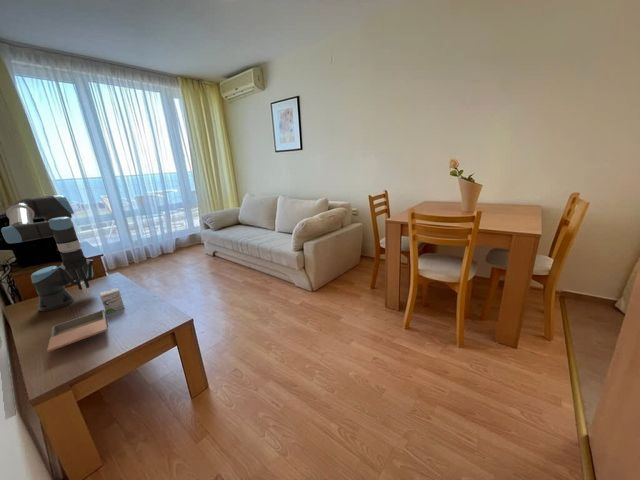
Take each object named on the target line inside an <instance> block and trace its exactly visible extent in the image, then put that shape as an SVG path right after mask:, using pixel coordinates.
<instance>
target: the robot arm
mask: <svg viewBox="0 0 640 480" xmlns="http://www.w3.org/2000/svg"><path fill="white" fill-rule="evenodd" d="M74 214H75V211H74V210H73V208H72V206H71V204H70V202H69V200H68V198H67V197H66V196H65V195H61V194H59V195H58V194H57V195H55V194H53V195H46V196H45V195H44V196H37V197H27V198H26V197H25V198H22V199H19V200H17V201H15V202H13V203H12V204H10V205H8V207H7V208H6V211H5V215H6V217H7V218H8V220H9V225H8V226H4V227H2V228H1V229H0V231H1V233H2V234H1V235H2V236H3V239H4V241H5V242H6V243H7V244H17V243H18V244H19V243H24V242H30V241H35V240H41V239H46V238H51V237H53V238H54V240H55V243H56V246H57V250H58V251H59V252H60V253H59V254H60V257H61V260H62V263H61V265H58V266H57V265H51V266H47V267H44V268H41V269H39V270H37V271H35V272H33V273H31V275H30V279H31V284H33V286H34V288H35V291H36V293H37V296H38V307H37V308H38V310H39V311H41V312H49V311H55V310H58V309H61V308H64V307H66V306H68V305H70V304H72V303H73V302H74V301H75V298H74V297H73V295H72V293H71V292H69V291H68V290H67V289H66V286H69V285H77V288H78V290H80V291H81V290H82V292H83V295H84V296H88V295H90V294H89V292H90V291H89V290H88V288H90V284H89V281H90V280H92V278H93V277H94V270H93V263H94V260H93V259H88V258H87V257H86V256H85V255H84V252H83V248H81V243H80V240H79V238H78V235H77V233H76V229H75V226H74V223H73V221H72V218H73V216H72V215H74ZM37 219H38V220H39V219H43V220H44V221H39V222H34V220H37Z"/></svg>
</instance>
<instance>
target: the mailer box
mask: <svg viewBox="0 0 640 480" xmlns="http://www.w3.org/2000/svg"><path fill="white" fill-rule="evenodd" d="M103 319H106V324H107V328H108V327H109V324H108V320H107V315H106V311H105V309H101V310H98V311H95V312H92V313H88V314H85V315H82V316H79V317H76V318H73V319H70V320H66V321H64V322H61V323H58V324H55V325H52V328H51V334H50V338H51V337H54V336H57V335H59V334H62V333H65V332H68V331H71V330H74V329H77V328H80V327H83V326H86V325H89V324H92V323H94V322H97V321H100V320H103Z"/></svg>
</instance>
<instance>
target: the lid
mask: <svg viewBox="0 0 640 480" xmlns="http://www.w3.org/2000/svg"><path fill="white" fill-rule="evenodd" d="M107 331H108V327H107V324H106V319H103V320H100V321H97V322H94V323H92V324H89V325H86V326H83V327H80V328H77V329H74V330H71V331H68V332H65V333H62V334H59V335H57V336H54V337H51V336H50V337H49V340H48V346H47V348H46V349H47V350H46V351H47V353H49V352H52V351H54V350H56V349H60V348H63V347H65V346H68V345H71V344H73V343H76V342H79V341H81V340H84V339H86V338H87V339H88V338H90V337H93V336H95V335H97V334H101V333H103V332H104V333H105V332H107Z"/></svg>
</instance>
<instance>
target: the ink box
mask: <svg viewBox="0 0 640 480" xmlns="http://www.w3.org/2000/svg"><path fill="white" fill-rule="evenodd" d="M99 297H100V299H101V302H102V306H103V308H104V312H105V314H110V313H113V312H116V311H119V310H120V311H121V310H122V309H123V310H124V309H125V304H124V302H123V299H122V295H121V293H120V290H119V287H115V288H111V289H107V290H105V291H101V292H99Z"/></svg>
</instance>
